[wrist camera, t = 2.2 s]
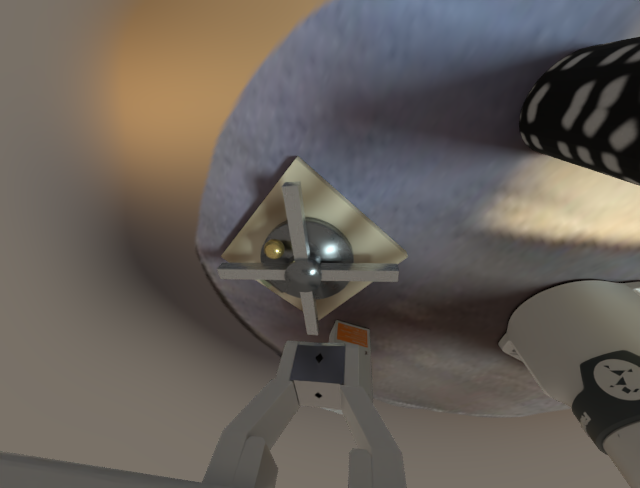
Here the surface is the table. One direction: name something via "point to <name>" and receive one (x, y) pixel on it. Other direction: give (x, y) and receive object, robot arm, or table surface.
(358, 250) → the beige base plate
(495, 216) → the table surface
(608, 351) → the robot arm
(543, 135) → the spotted tube
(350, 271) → the capstan
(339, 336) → the skincare box
